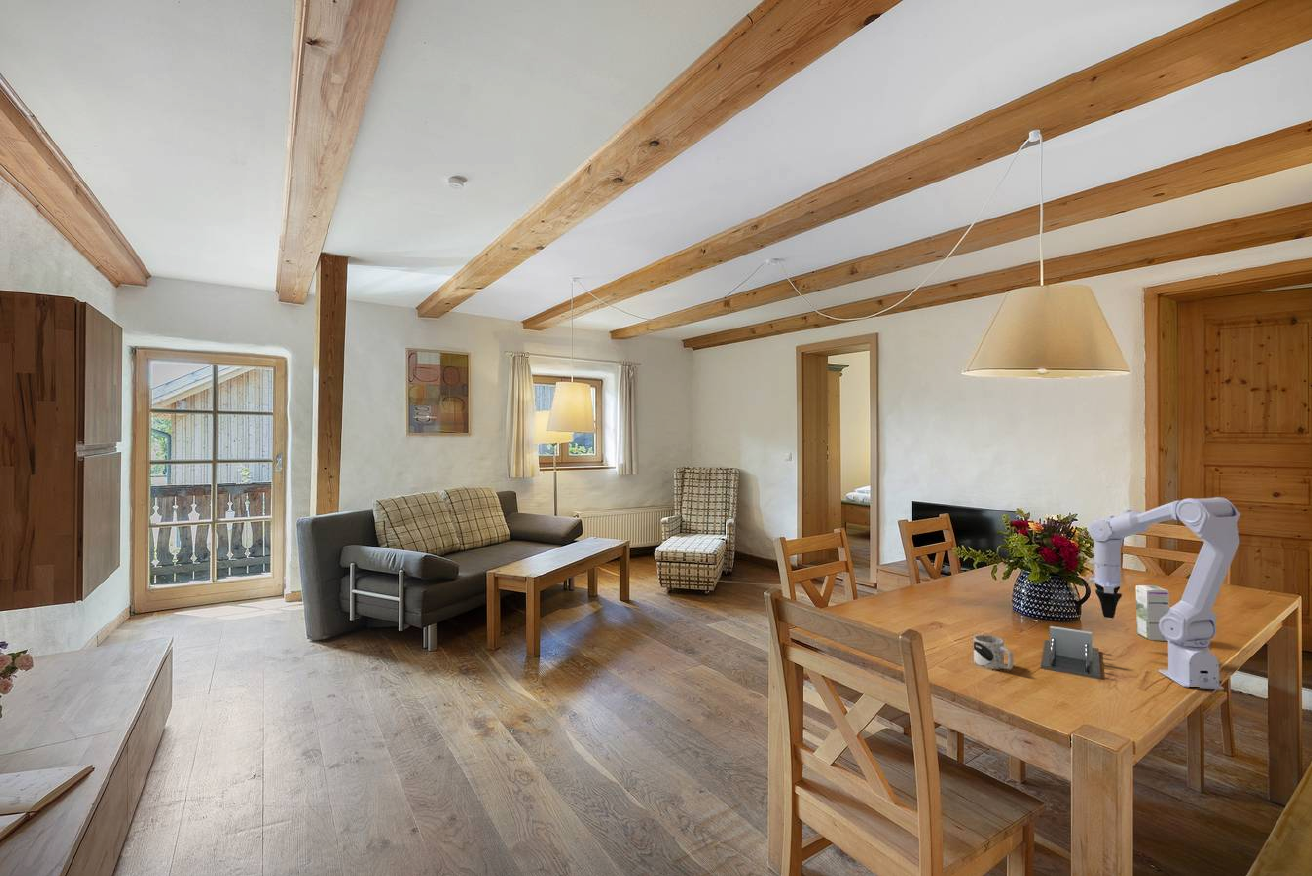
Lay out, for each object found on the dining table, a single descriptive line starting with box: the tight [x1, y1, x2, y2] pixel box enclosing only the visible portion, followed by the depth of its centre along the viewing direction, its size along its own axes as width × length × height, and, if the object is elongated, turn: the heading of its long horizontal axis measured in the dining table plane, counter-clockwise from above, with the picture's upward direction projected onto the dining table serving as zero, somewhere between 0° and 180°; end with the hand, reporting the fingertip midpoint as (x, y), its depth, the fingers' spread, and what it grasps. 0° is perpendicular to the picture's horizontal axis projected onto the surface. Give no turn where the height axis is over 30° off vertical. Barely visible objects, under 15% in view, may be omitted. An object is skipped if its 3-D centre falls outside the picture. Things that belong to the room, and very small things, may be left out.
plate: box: [1049, 625, 1093, 661], centre depth 152 cm, size 2×9×7 cm, turn 54°
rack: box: [1040, 638, 1102, 680], centre depth 152 cm, size 22×12×5 cm, turn 144°
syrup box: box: [1135, 584, 1170, 642], centre depth 168 cm, size 6×6×14 cm
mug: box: [973, 634, 1015, 671], centre depth 148 cm, size 10×7×7 cm
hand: (1108, 614), depth 158 cm, fingers open, 7 cm apart
